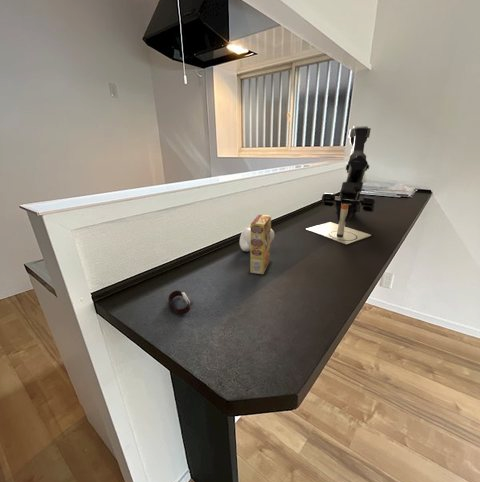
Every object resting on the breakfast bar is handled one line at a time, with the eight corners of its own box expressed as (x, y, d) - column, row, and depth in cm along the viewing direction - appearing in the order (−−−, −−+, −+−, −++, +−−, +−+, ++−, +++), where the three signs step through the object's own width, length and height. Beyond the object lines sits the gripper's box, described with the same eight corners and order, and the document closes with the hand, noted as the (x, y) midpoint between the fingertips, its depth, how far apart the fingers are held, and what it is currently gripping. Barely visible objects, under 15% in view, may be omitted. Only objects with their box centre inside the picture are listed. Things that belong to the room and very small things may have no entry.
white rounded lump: (230, 251, 91) (229, 226, 87) (252, 241, 99) (253, 218, 95) (255, 261, 84) (256, 234, 80) (277, 249, 92) (279, 225, 88)
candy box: (263, 275, 76) (265, 224, 69) (249, 273, 77) (250, 223, 70) (269, 262, 83) (272, 215, 77) (256, 260, 84) (258, 214, 78)
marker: (335, 236, 103) (340, 205, 97) (339, 234, 104) (344, 203, 98) (340, 238, 101) (346, 206, 95) (344, 236, 102) (350, 205, 96)
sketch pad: (305, 229, 111) (305, 228, 111) (330, 222, 119) (330, 221, 119) (346, 244, 96) (346, 243, 96) (371, 235, 104) (371, 234, 104)
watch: (195, 312, 60) (194, 299, 59) (176, 319, 58) (174, 305, 57) (183, 296, 66) (181, 283, 65) (164, 302, 64) (163, 289, 62)
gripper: (326, 171, 100) (314, 206, 96) (381, 175, 91) (370, 213, 87) (328, 188, 109) (317, 221, 105) (378, 193, 100) (368, 229, 97)
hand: (341, 221), depth 98 cm, fingers closed on marker, 2 cm apart
